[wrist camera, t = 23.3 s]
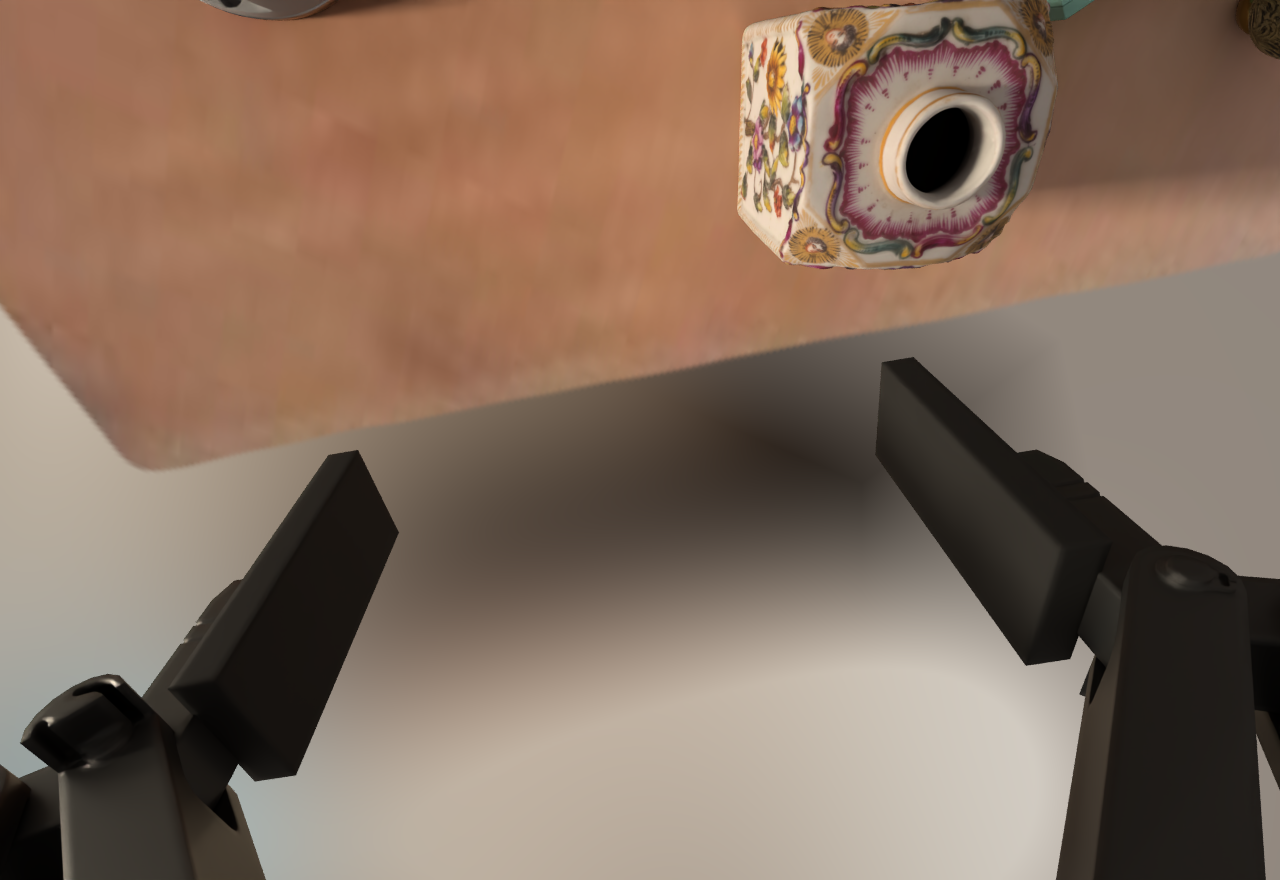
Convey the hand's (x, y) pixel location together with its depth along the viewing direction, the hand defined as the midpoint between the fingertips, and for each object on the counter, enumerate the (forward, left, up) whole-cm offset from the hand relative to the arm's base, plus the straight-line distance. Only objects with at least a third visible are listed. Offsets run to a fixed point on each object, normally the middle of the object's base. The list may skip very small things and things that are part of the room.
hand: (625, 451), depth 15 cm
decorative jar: (+4, +15, -33) cm, 36 cm away
